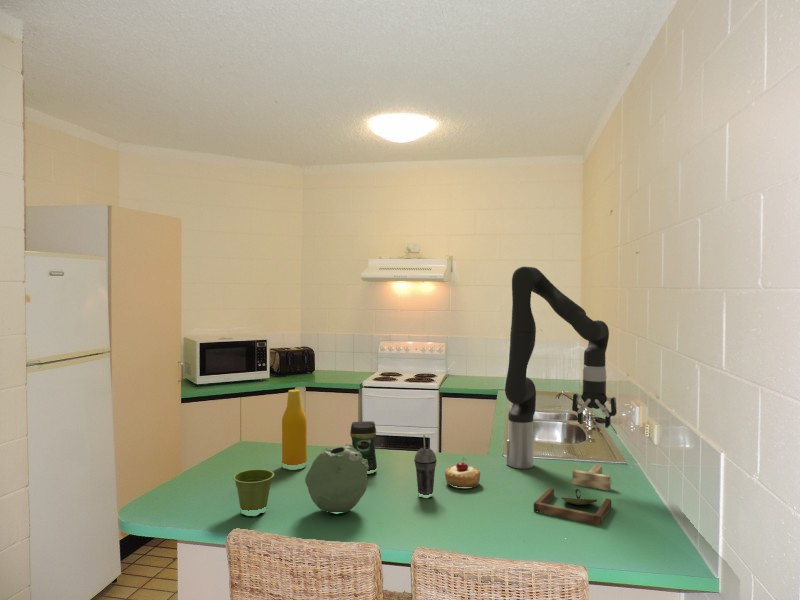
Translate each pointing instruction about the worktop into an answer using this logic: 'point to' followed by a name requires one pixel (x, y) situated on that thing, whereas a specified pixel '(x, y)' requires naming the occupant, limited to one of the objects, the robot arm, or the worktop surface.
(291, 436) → the beer bottle
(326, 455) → the round grey vase
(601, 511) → the walnut bay
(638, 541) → the worktop surface
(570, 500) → the lid
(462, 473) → the pastry
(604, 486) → the wooden pusher
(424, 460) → the beverage cup
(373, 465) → the coffee jar
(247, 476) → the plant pot
